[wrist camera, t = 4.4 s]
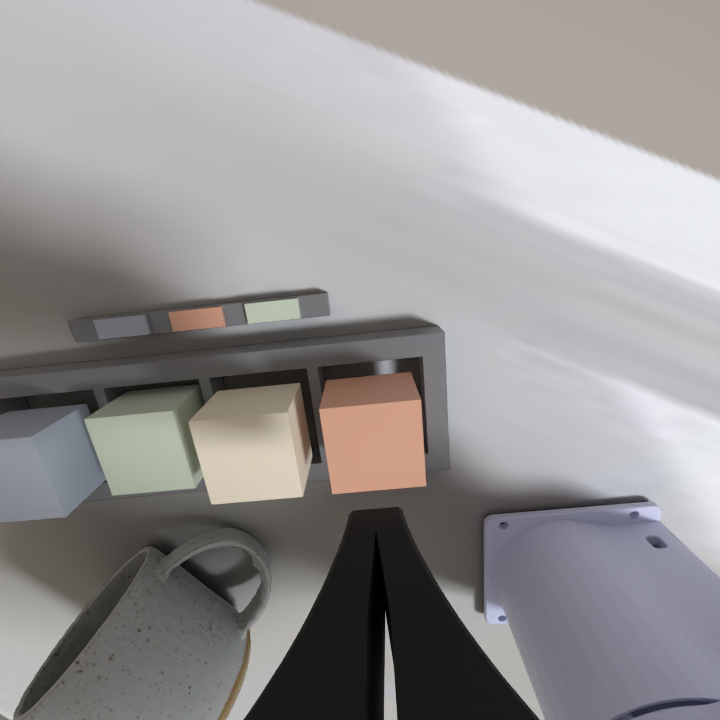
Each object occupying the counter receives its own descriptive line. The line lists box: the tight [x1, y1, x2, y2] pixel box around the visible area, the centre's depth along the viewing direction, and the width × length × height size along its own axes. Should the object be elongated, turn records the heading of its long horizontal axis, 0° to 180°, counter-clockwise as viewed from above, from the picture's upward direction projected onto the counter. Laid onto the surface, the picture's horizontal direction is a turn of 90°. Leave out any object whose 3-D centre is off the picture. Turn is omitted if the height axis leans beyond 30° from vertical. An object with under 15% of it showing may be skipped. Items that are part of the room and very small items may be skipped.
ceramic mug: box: [13, 528, 271, 720], centre depth 19 cm, size 11×8×8 cm
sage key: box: [84, 384, 205, 496], centre depth 17 cm, size 4×4×3 cm
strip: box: [68, 292, 330, 342], centre depth 17 cm, size 12×1×1 cm, turn 96°
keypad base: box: [0, 325, 450, 502], centre depth 18 cm, size 22×7×1 cm, turn 96°
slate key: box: [0, 404, 106, 523], centre depth 16 cm, size 4×4×3 cm
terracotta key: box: [319, 372, 426, 494], centre depth 16 cm, size 4×4×3 cm
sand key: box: [188, 383, 313, 505], centre depth 16 cm, size 4×4×3 cm
